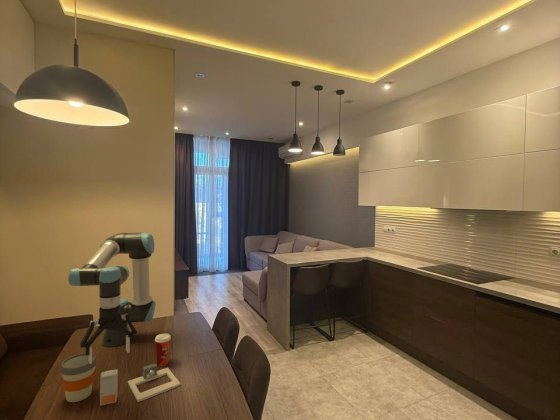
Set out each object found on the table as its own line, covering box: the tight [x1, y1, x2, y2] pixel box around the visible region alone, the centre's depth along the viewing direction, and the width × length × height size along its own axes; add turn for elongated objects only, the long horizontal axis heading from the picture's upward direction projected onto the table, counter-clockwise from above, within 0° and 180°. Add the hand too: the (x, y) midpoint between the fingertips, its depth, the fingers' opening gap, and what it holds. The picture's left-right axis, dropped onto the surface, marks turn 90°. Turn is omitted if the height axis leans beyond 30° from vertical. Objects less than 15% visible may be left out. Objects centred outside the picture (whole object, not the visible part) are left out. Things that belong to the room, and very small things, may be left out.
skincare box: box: [99, 368, 119, 407], centre depth 123 cm, size 6×4×12 cm
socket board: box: [127, 363, 181, 403], centre depth 135 cm, size 16×18×6 cm
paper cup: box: [154, 333, 172, 367], centre depth 152 cm, size 8×8×14 cm
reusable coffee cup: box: [60, 352, 97, 403], centre depth 126 cm, size 13×13×15 cm
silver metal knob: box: [147, 369, 154, 376], centre depth 138 cm, size 5×3×3 cm, turn 40°
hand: (109, 356), depth 122 cm, fingers open, 13 cm apart
